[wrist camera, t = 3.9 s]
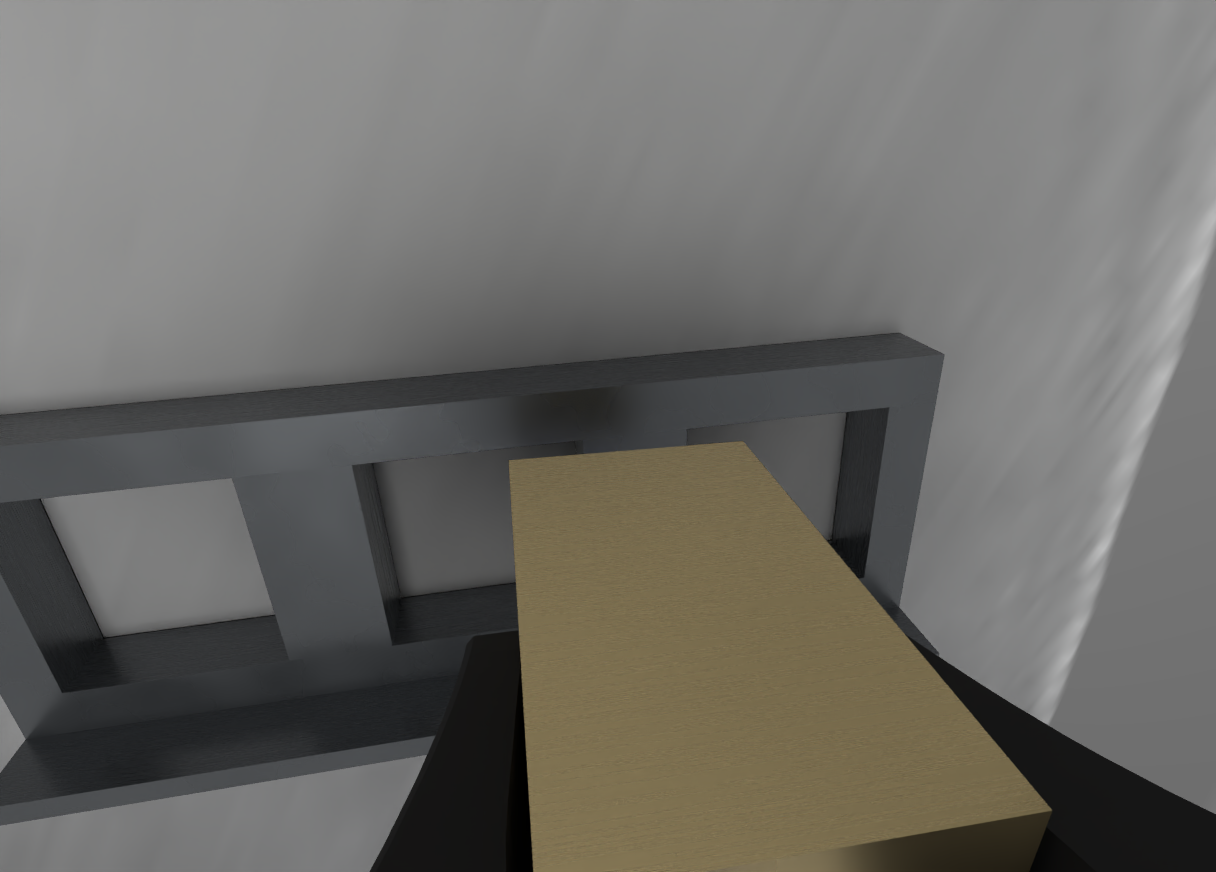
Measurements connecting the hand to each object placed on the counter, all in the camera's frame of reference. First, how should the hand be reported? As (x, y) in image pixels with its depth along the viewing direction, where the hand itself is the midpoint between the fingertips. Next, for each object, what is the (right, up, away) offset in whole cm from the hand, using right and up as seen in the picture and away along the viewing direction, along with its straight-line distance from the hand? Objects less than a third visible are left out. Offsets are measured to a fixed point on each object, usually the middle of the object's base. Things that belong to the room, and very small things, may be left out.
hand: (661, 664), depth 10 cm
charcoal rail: (-4, +1, +9) cm, 10 cm away
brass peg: (0, +1, +2) cm, 3 cm away
